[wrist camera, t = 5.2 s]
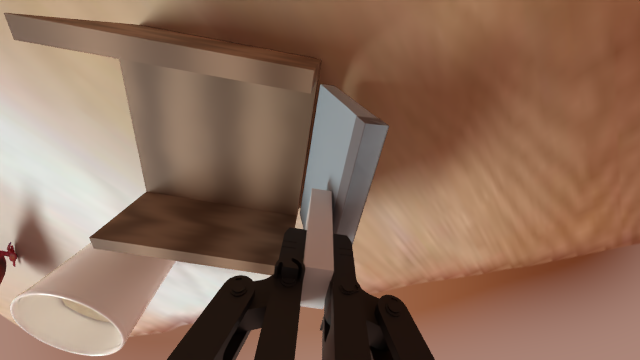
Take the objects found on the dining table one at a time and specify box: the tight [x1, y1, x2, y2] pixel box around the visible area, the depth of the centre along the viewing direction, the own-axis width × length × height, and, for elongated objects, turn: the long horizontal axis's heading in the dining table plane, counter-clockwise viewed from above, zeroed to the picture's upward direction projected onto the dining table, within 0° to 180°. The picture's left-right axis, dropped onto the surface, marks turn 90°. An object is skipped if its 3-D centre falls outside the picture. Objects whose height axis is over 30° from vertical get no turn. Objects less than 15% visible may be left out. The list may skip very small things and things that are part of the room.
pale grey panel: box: [300, 84, 389, 244], centre depth 19 cm, size 1×13×10 cm, turn 171°
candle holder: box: [10, 243, 175, 356], centre depth 28 cm, size 10×10×12 cm
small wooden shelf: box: [4, 13, 321, 275], centre depth 21 cm, size 16×16×10 cm
